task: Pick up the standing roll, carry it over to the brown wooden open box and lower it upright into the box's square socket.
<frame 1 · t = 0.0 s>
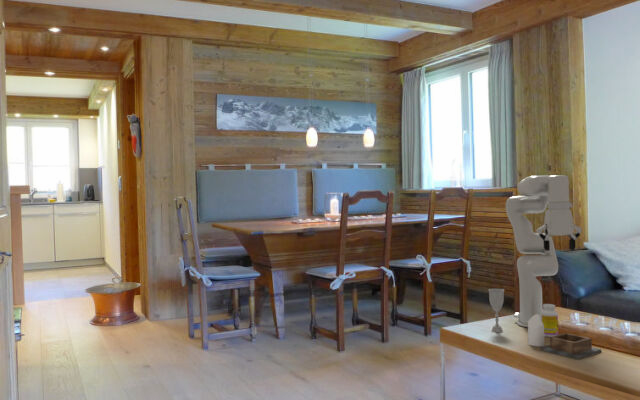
hand: (559, 250, 211), 37 cm above the table, tool pointing down, fingers open, 9 cm apart
chalice: (497, 331, 234), on the table
brown wooden open box: (570, 350, 203), on the table
supplement bottle: (549, 336, 225), on the table
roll: (536, 345, 212), on the table
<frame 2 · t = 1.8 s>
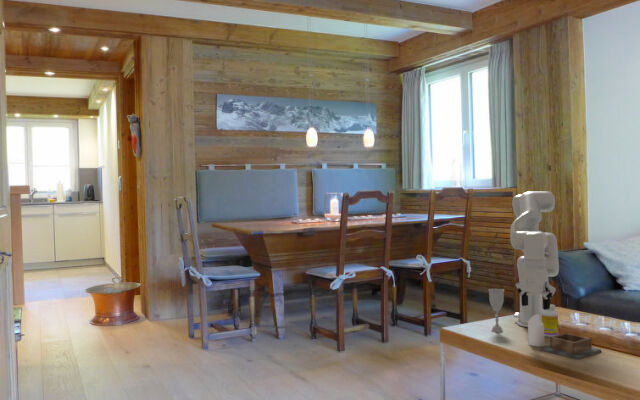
hand: (535, 307, 212), 15 cm above the table, tool pointing down, fingers open, 9 cm apart
nothing on the table moved.
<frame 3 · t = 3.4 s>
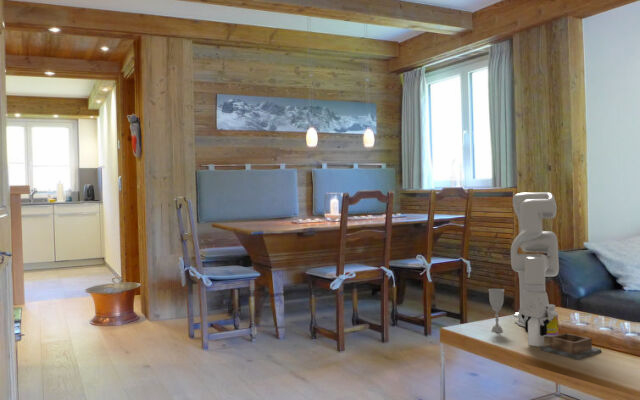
hand: (536, 332, 212), 5 cm above the table, tool pointing down, fingers closed on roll, 5 cm apart
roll: (536, 345, 212), on the table, touching gripper
everything else where it was.
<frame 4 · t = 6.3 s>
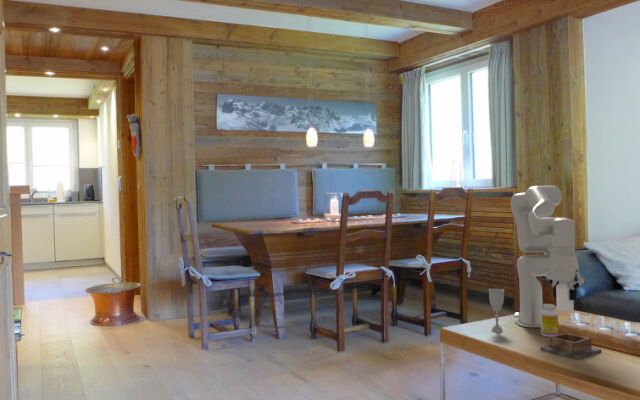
hand: (564, 298, 204), 20 cm above the table, tool pointing down, fingers closed on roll, 5 cm apart
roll: (565, 310, 204), point 15 cm above the table, touching gripper
everything else where it was.
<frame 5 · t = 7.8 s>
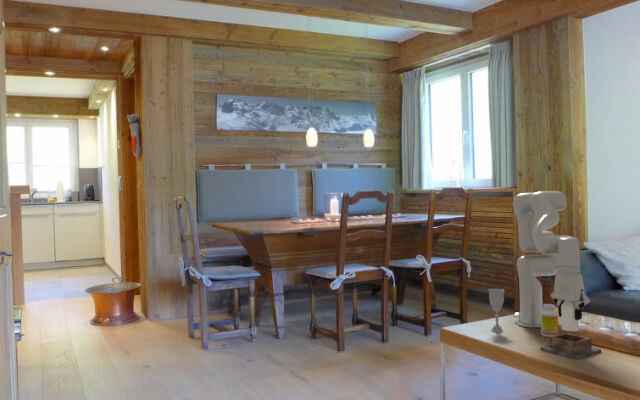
hand: (570, 317, 202), 13 cm above the table, tool pointing down, fingers closed on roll, 5 cm apart
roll: (570, 330, 202), point 8 cm above the table, touching gripper
everything else where it was.
when the fingers open (7 cm above the table, at t = 9.3 s): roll drops 1 cm, resting on brown wooden open box.
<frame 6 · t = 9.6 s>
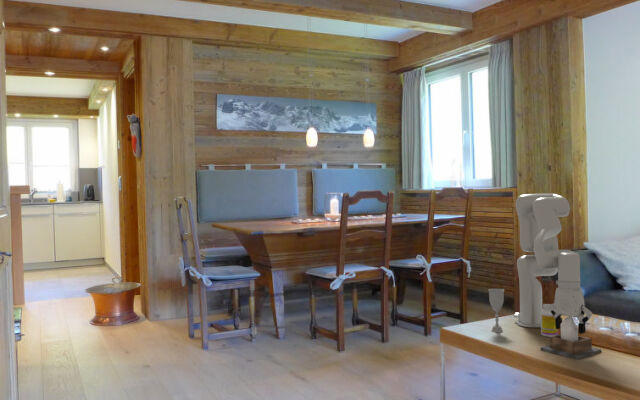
hand: (570, 330, 203), 8 cm above the table, tool pointing down, fingers open, 8 cm apart
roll: (569, 348, 203), point 1 cm above the table, touching brown wooden open box
everything else where it was.
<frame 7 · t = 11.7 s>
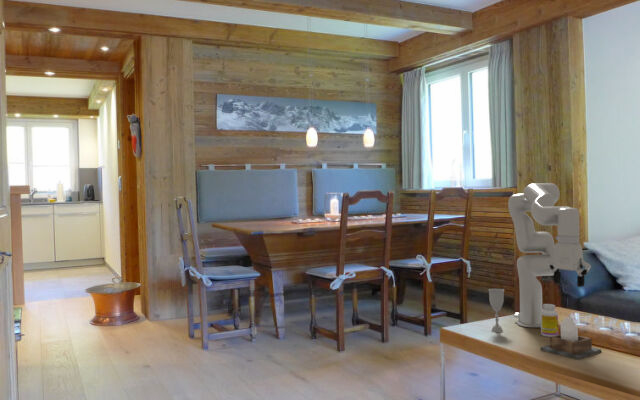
hand: (568, 284, 206), 25 cm above the table, tool pointing down, fingers open, 9 cm apart
nothing on the table moved.
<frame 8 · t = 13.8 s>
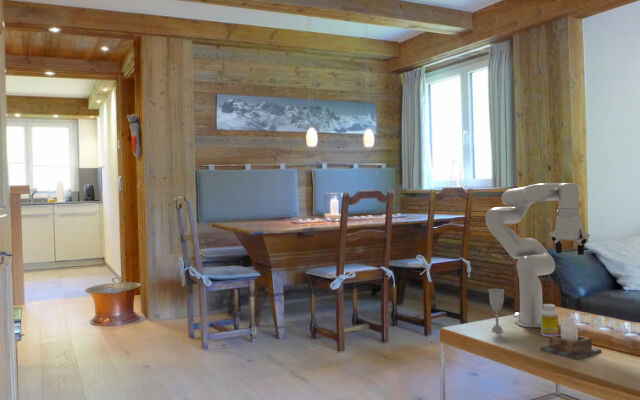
hand: (569, 253, 223), 34 cm above the table, tool pointing down, fingers open, 9 cm apart
nothing on the table moved.
at the end: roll 0.5 cm off-centre on the brown wooden open box, point 0.8 cm above the brown wooden open box's base; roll tilted 1°; the gripper is holding nothing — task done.
